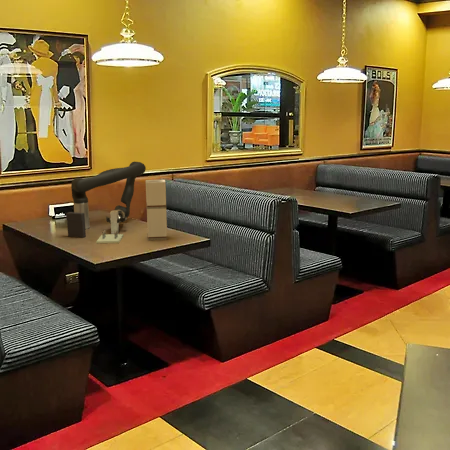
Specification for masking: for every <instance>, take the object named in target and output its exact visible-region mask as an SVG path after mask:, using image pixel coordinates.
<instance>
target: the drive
mask: <svg viewBox="0 0 450 450" xmlns="http://www.w3.org/2000/svg"><path fill="white" fill-rule="evenodd" d="M109 214H110V217H109V218H111V223H110V234H114V232H115V230H117V232H118V234H119V232H120V226H119V225H120V223H117V219H118V210H115V209H114V210H111V211H110V212H109Z"/></svg>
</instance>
